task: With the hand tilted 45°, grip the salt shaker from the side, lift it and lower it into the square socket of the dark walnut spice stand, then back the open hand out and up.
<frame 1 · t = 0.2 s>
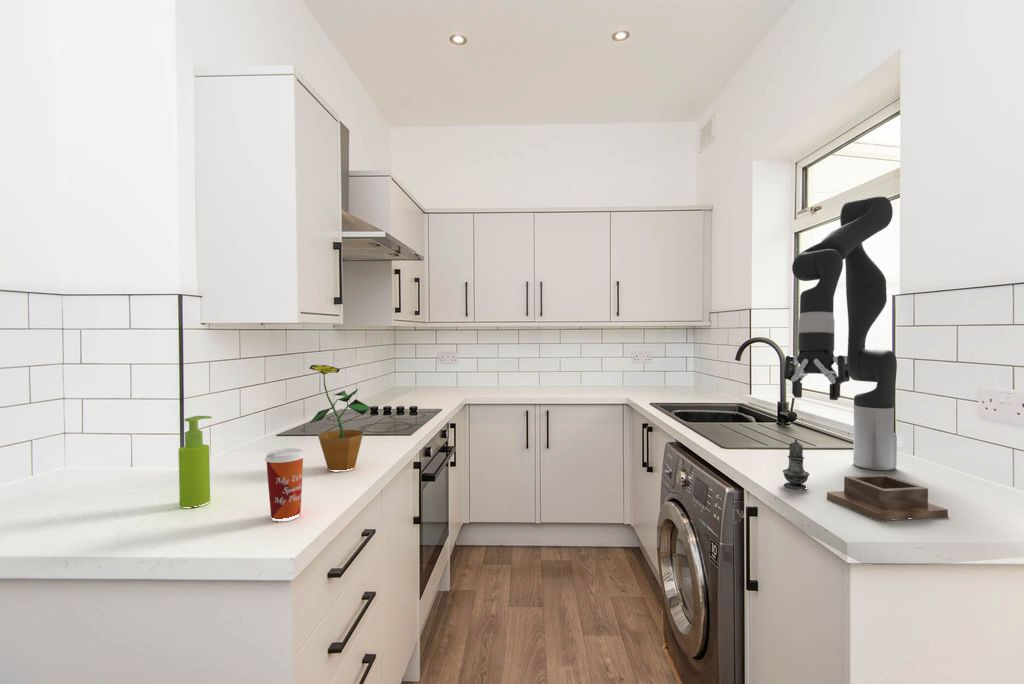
hand: (815, 398, 120), 22 cm above the table, tool pointing down, fingers open, 8 cm apart
salt shaker: (795, 487, 124), on the table
soap dispenser: (197, 504, 114), on the table
spice stand: (884, 507, 109), on the table
paper cup: (286, 518, 106), on the table
potted plant: (342, 469, 142), on the table
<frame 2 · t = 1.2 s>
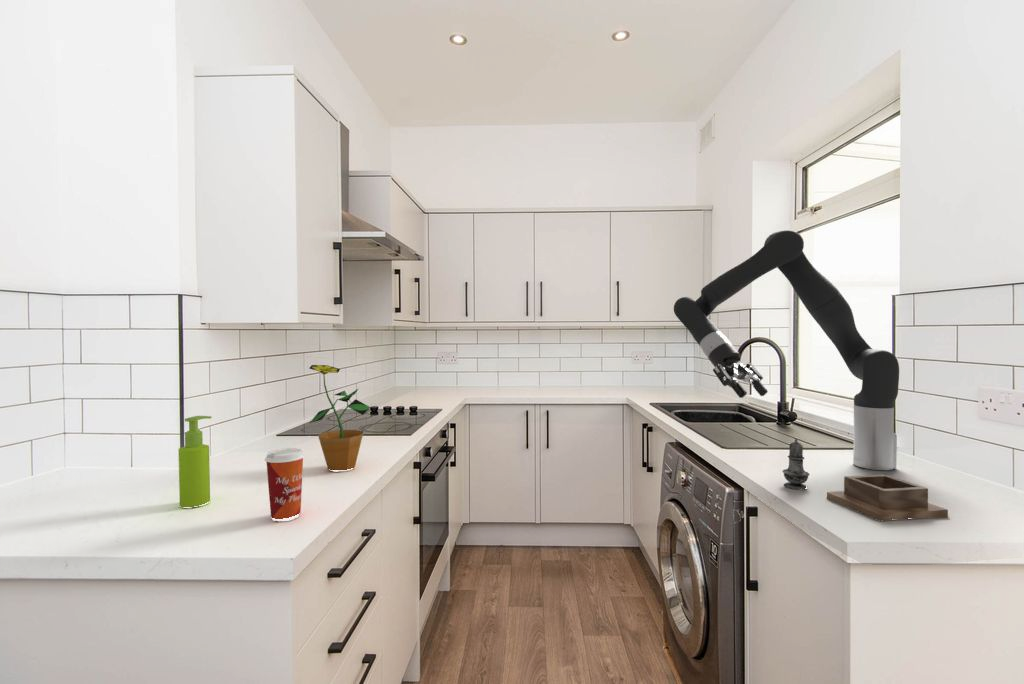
hand: (754, 395, 134), 22 cm above the table, tool tilted 45°, fingers open, 8 cm apart
nothing on the table moved.
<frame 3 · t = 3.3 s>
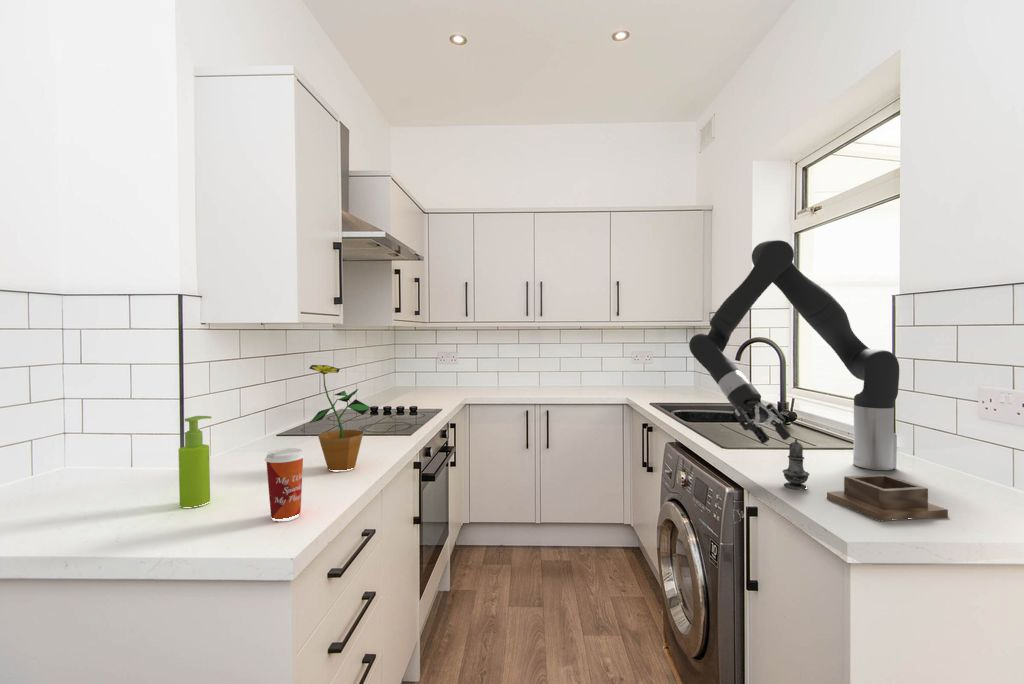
hand: (777, 439, 128), 11 cm above the table, tool tilted 45°, fingers open, 8 cm apart
nothing on the table moved.
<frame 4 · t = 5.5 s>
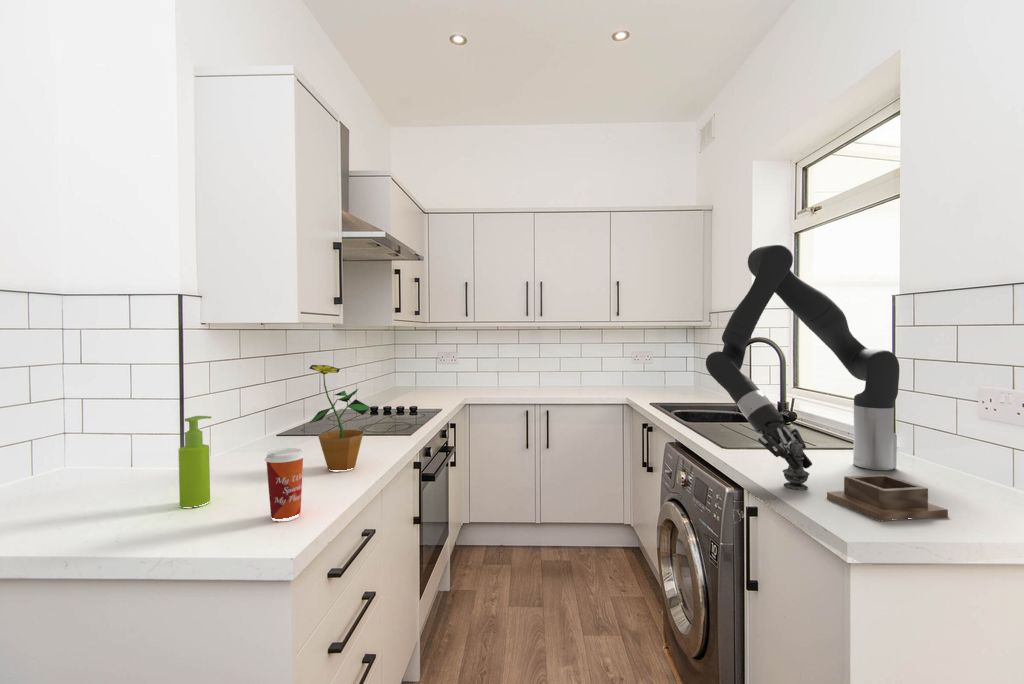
hand: (803, 467, 122), 5 cm above the table, tool tilted 45°, fingers closed on salt shaker, 3 cm apart
salt shaker: (795, 487, 124), on the table, touching gripper
everything else where it was.
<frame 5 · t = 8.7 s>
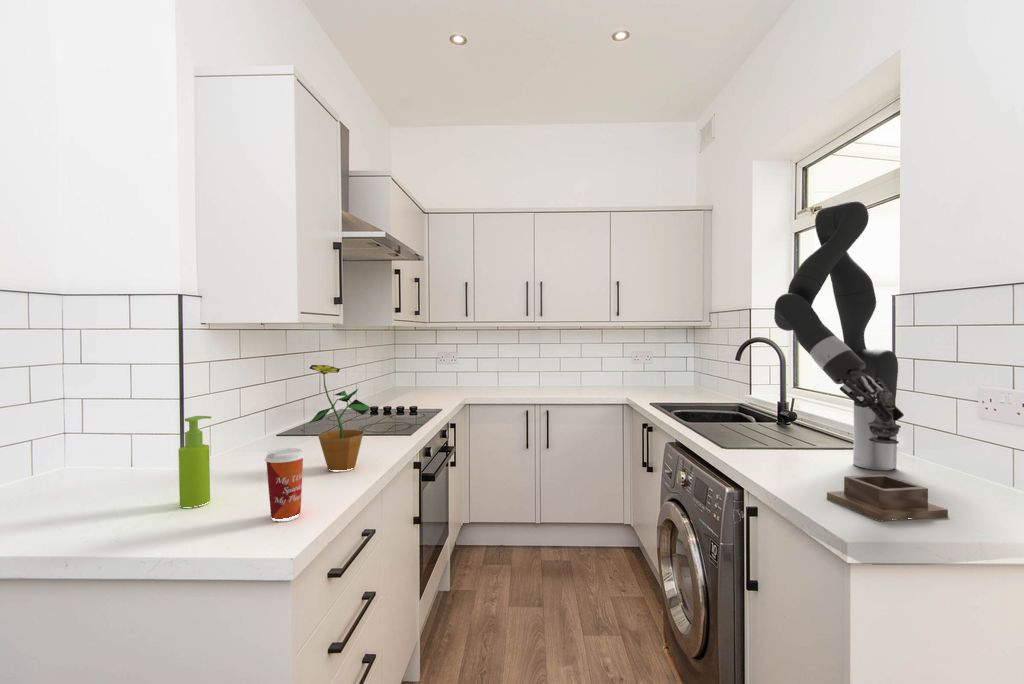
hand: (894, 418, 107), 20 cm above the table, tool tilted 45°, fingers closed on salt shaker, 3 cm apart
salt shaker: (883, 442, 109), point 14 cm above the table, touching gripper
everything else where it was.
when the fingers open (8 cm above the table, at t = 11.8 s): salt shaker drops 1 cm, resting on spice stand.
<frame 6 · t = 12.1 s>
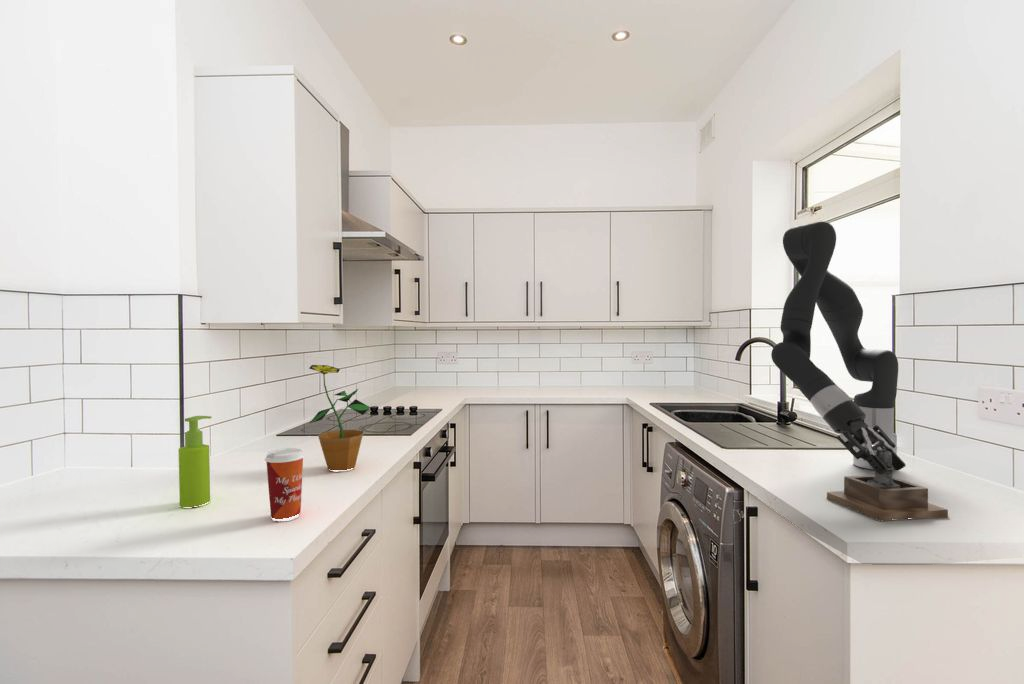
hand: (893, 470, 108), 9 cm above the table, tool tilted 45°, fingers open, 6 cm apart
salt shaker: (883, 501, 109), point 1 cm above the table, touching spice stand
everything else where it was.
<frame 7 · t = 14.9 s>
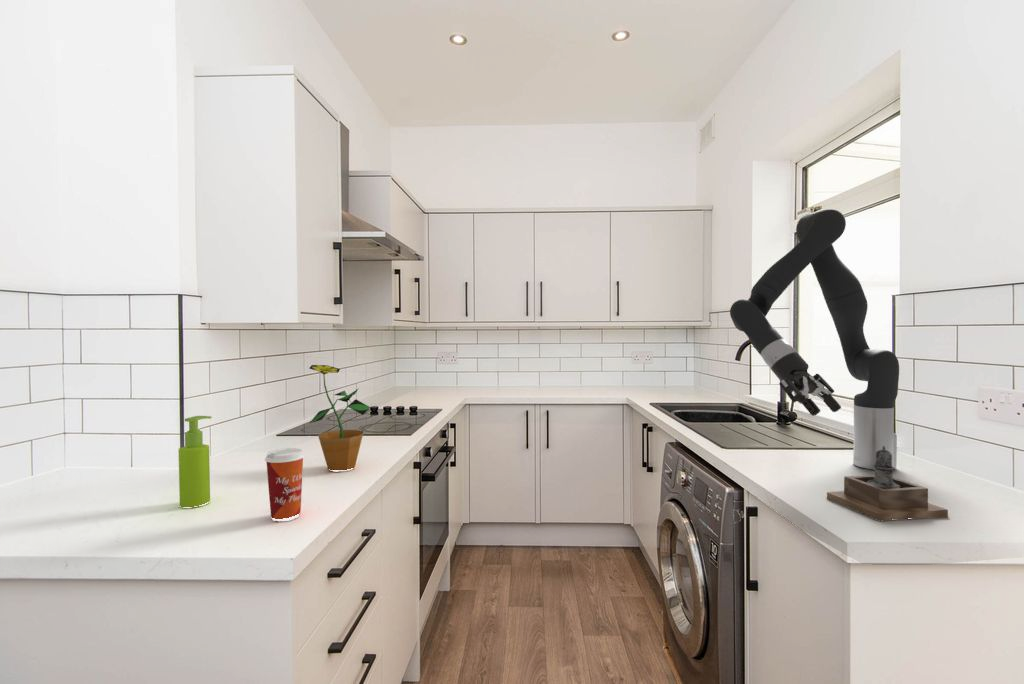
hand: (827, 411, 120), 19 cm above the table, tool tilted 45°, fingers open, 8 cm apart
nothing on the table moved.
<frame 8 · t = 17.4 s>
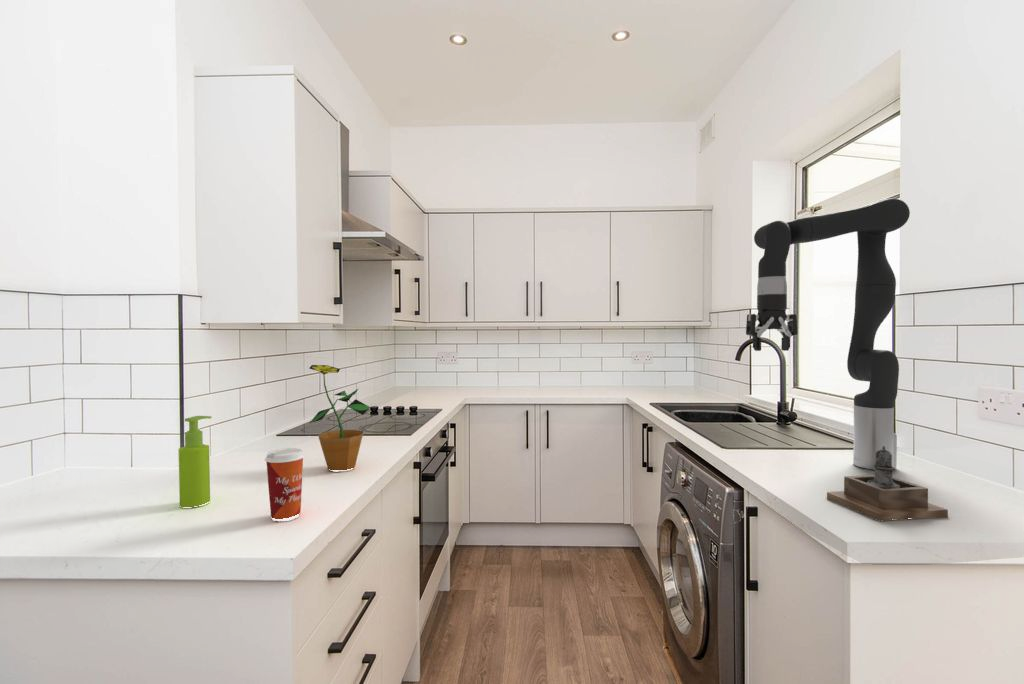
hand: (771, 350, 142), 33 cm above the table, tool pointing down, fingers open, 8 cm apart
nothing on the table moved.
at the end: salt shaker 0.1 cm off-centre on the spice stand, point 1.3 cm above the spice stand's base; salt shaker tilted 0°; the gripper is holding nothing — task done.
